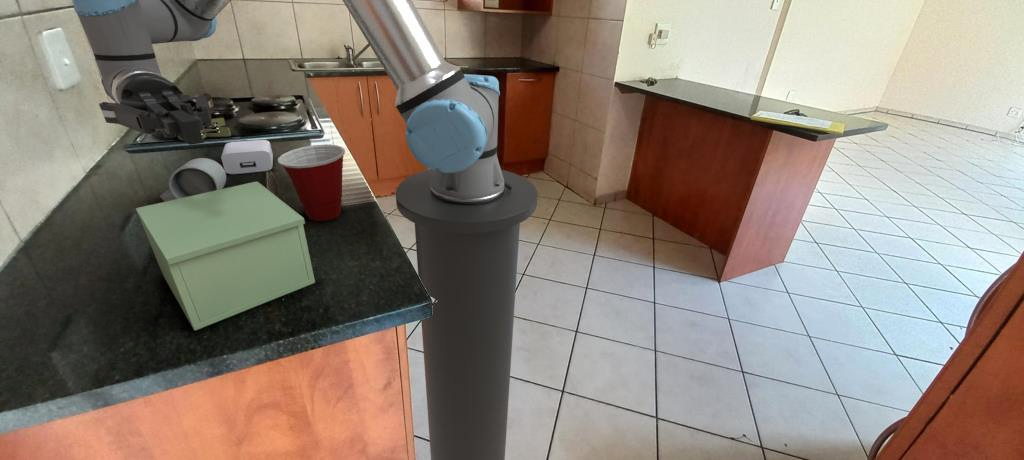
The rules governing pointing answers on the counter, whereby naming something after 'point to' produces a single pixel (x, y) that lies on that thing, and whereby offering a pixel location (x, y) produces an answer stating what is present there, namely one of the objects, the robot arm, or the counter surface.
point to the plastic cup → (316, 178)
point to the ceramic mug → (195, 179)
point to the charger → (247, 156)
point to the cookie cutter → (222, 133)
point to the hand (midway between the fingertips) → (193, 132)
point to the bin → (238, 275)
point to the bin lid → (215, 220)
